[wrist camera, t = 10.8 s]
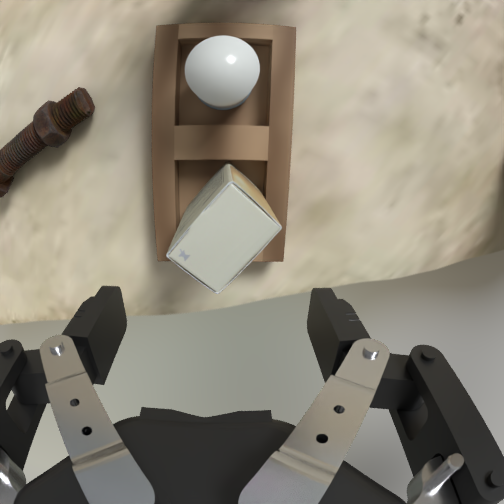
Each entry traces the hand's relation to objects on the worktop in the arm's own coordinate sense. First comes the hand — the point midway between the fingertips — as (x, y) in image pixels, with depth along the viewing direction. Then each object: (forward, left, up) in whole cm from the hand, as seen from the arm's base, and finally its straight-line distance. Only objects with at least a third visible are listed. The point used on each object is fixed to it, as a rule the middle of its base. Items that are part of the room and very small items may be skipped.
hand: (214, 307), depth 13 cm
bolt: (+20, -7, -20) cm, 29 cm away
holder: (0, -6, -19) cm, 20 cm away
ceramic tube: (0, -11, -19) cm, 22 cm away
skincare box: (0, 0, -19) cm, 19 cm away
